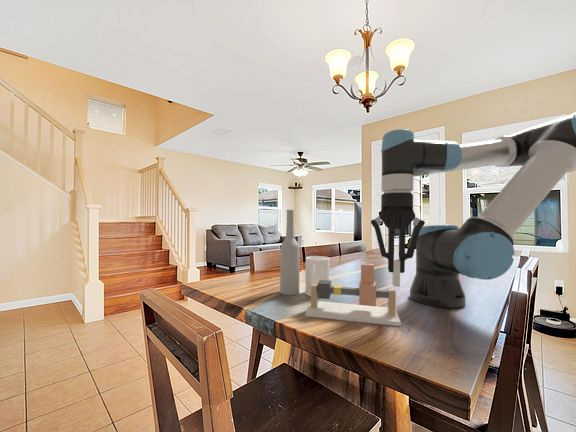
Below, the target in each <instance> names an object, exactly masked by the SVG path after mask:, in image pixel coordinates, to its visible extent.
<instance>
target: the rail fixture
mask: <svg viewBox="0 0 576 432" xmlns="http://www.w3.org/2000/svg"><path fill="white" fill-rule="evenodd" d="M396 293H397V292H396V290H395V289H391V288H388V289H377V288H376V298H381V299H387V306H377V305H376V306H365V305H359V304H356V303H355V304H353V303H344V302H333V301H322V300H323V299H324V300H330V298H331V296H332V295H336V296H337V295H338V296H342V295H344V296H355V297H357V296H358V297H359V287H347V286H342V285H332V280H330V281H329V280H320V281H319V283H318V284H312V285H311V296H310V303H309V305H308V307H307V309H306V311H305V313H304V317H311V318H317V319H318V318H320V319H329V320H339V321H346V322H347V321H348V322H357V323H365V324H367V323H368V324H374V325H375V324H377V325H384V326H385V325H387V326H392V327H393V326H395V327H401V324H402V323H401V319H400V316H399V313H398V312H397V309H396V308H397V307H396V306H397V305H396V301H397V300H396ZM320 299H322V300H320ZM319 300H320V301H319Z"/></svg>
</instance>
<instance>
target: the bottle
mask: <svg viewBox="0 0 576 432" xmlns="http://www.w3.org/2000/svg"><path fill="white" fill-rule="evenodd" d="M285 211H286V229H285V231H286V233H285V238H284V240H283V241H282V242H281V244H280V264H279V266H280V267H279V269H280V271H279V274H280V275H279V293H280V294H281V295H283V296H296V295H299V294H300V244H299V242H298V241H297V240H296V238H295V223H294V222H295V220H294V219H295V218H294V217H295V214H294V213H295V209H286V210H285Z"/></svg>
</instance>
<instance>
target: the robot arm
mask: <svg viewBox="0 0 576 432" xmlns="http://www.w3.org/2000/svg"><path fill="white" fill-rule="evenodd" d="M380 152H381V189H380V191H381V192H383V193H382V194H381V197H380V200H381V202H380V203H381V204H380V205H381V206H380V212H379V214H378V216H377V217H375V218H374V219H370V224H371V225H372V227H373V228H374V232H375V235H376V240H377V244H378V248H379V251H380V255H381V257H382V258H386V259H387V270H388V273H391V274H392V277H391V278H392V286H393V287H394V288H395V287H398V288H400V287H401V274H404V273H405V271H406V270H405V269H406V268H405V267H406V265H405V264H406V263H405V262H406V261H407V260H408V259H413V257H414V254H415V275H414V278H413V281H412V282H411V283H412V284H411V286H410V289H409V298H410V299H411V300H413V301H414V302H417V303H419V304H422V305H427V306H432V307H438V308H450V309H452V308H454V309H456V308H463V307H464V306H466V302H467V300H466V295H465V291H464V288H463V286H462V282H461V281H460V276H459V275H463V276H465V277H467V278H470V279H477V280H482V281H483V280H487V281H488V280H494V279H497V278H500V277H502V276H503V275H505V274H506V273H507V272H508V271H509V270H510V269H511V267H512V265H513V263H514V260H515V259H514V258H513V256H514V255H515V247H514V245H515V239H514V235H515V233H516V232H517V231H518V230H519V228H521V226H522V225H523V224H524V222H525V221H526V220H528V218H529V217H530V216H531V215H532V214H533V213H534V211H535V210H536V209H537V207H538V206H539V205H540V204H541V203H542V202H543V201H544V199H545V198H546V197H547V196H548V194H549V193H550V192H551V191H552V190H553V189H554V188H555V186H556V185H557V184H558V183H559V182H560V180H561V179H562V178H563V177H564V176H565V175H566V174H567V173H572V172H575V171H576V112H573V113H572V114H569V115H567V116H564V117H563V116H562V117H560V118H557V119H553V120H550V121H546V122H544V123H542V124H538V125H535V126H532V127H529V128H526V129H524V130H521V131H518V132H515V133H513V134H508V135H503V136H502V135H501V136H499V137H497V138H495V139H494V140H491V141H483V142H475V143H468V144H467V143H466V144H459V143H458V142H456V141H450V140H449V141H448V140H425V139H424V140H423V139H421V140H419V139H416V138H415V133H414V131H413V130H411V129H409V128H408V129H406V128H400V129H399V128H397V129H393V130H390V131H387V132H386V133H385V134H383V136H382V141H381V151H380ZM491 166H495V167H498V168H505V167H506V168H507V167H519V166H521V167H520V168H519V169H518V171H516V173H515V174H514V175H513V177H512V178H511V179H510V180H508V182H507V184H505V185H504V186H503V188H502V189H501V190H500V191H499V192H498V194H497V195H496V196H495V197H494V198H493V199H492V201H490V203H489V204H488V205H487V206H486V207H485V209H483V211H482V212H481V213H480V214H479V215H478V216H471V217H469V218H468V219H466V220H465V222H464V223H463V224H462V225H461V226H460V227H459V226H458V225H456V224H436V225H426V226H425V224H426V222H425V220H423V219H420V218H418V217H417V216H416V213H415V211H414V194H413V193H412V192H413V191H414V177H420V176H425V175H433V174H441V173H447V172H454V171H462V170H468V169H469V170H470V169H475V168H476V169H477V168H482V167H491ZM381 221H382V223H383V224H384V225H385V227H386V228H387V231H388V234H387V236H388V237H387V251H386V248H385V244H384V239H383V234H382V231H381V227H380V226H381V224H382V223H381ZM411 223H412V226H413V228H412V232H411V236H410V239H409V243H408V246H407V249H406V231H407V230H406V229H407V228H408V227H409V225H410V224H411ZM395 230H398V258H395ZM406 250H407V251H406Z"/></svg>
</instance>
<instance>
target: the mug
mask: <svg viewBox="0 0 576 432" xmlns="http://www.w3.org/2000/svg"><path fill="white" fill-rule="evenodd" d="M330 259H331V258H330V257H328V256H323V255H322V256H321V255H310V256H306V257H305V289H304V294H305V295H306V296H309V297H311V285H312V284H318V283H319V281H320V280H329V281H331V277H330V276H331V271H330V270H331V265H330V263H331V260H330Z"/></svg>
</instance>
